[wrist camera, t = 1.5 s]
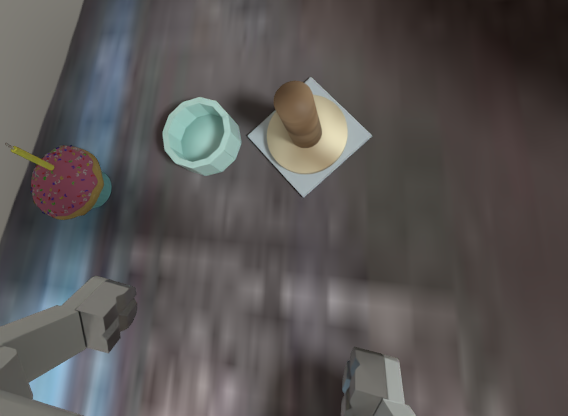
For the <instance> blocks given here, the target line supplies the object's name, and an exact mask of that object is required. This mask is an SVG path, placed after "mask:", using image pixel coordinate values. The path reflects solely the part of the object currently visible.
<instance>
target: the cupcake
mask: <svg viewBox="0 0 568 416" xmlns="http://www.w3.org/2000/svg"><path fill="white" fill-rule="evenodd" d="M5 145H6V146H8V147H10V148H11V152H13V153H15V154H17V155H19V156H22V157H23V158H25V159H27V160H30V161H32V162H34V163H36V164H37V165H36V167H35V168H34V169H33V170H34V171H33V173H32V174H33V175H32V179H31V189H32V190H31V194H32V195H33V200H34V203H35V205H37V206H38V207H39V208H40V209H41V210H42V211H43V212H44V214H47V215H48V216H51V217H53V218H56V219H60V220H67V219H72V218H75V217H77V216H82V215H85V214H86V213H87V212H89V211H90V210H91V209H92V208H97V207H100V206H102V205H103V204H104V203H105V202H106V201H107V200H108V198H109V196H110V194H111V189H112V186H111V181H110V179H109V177H108V176H107V175H106V174H105V173H104V172H102V171H101V168H100V165H99V162H98V160H97V159H96V157H95V156H94V155H93V154H91V153H89V152H88V151H86V150H83V149H81V148H77V147H73V146H72V145H71V146H66V145H65V146H61V147H60V146H59V147H60V148H59V147H58V148H56V149H55V150H54V149H53V150H52V151H51V152H48V154H45V157H44V158H42V159H40V158H38V157H36V156H34V155H32V154H30V153H28V152H26V151H24V150H22V149H20V148H18V147H16V146H13V147H12V146H11V145H9V144H7V143H5ZM43 212H42V213H43Z"/></svg>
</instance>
